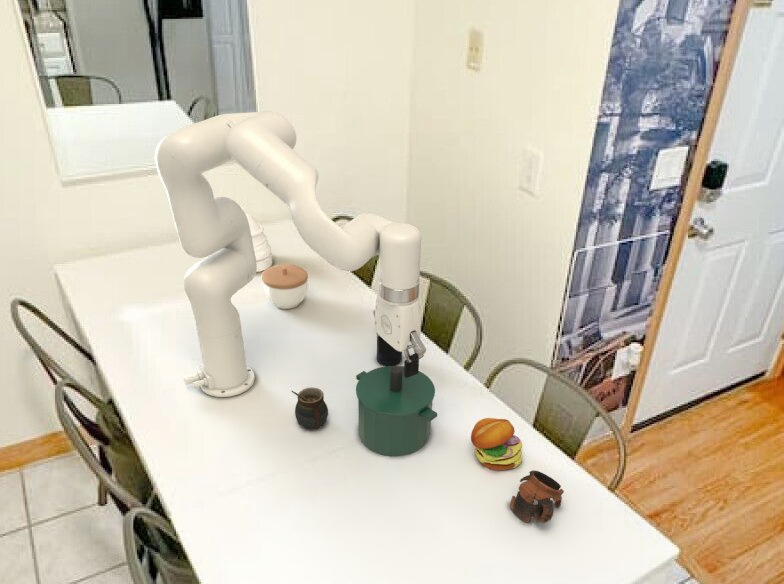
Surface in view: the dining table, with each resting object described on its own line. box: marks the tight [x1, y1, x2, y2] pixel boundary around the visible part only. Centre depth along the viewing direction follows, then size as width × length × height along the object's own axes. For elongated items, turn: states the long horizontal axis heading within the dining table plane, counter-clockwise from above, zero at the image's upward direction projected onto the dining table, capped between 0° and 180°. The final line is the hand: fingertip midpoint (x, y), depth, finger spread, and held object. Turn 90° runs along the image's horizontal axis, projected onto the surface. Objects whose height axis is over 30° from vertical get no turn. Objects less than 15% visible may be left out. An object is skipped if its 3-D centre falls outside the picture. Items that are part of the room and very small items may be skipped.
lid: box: [355, 365, 436, 416], centre depth 133 cm, size 17×17×6 cm
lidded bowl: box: [261, 264, 309, 310], centre depth 181 cm, size 13×13×11 cm
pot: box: [355, 370, 438, 457], centre depth 138 cm, size 16×21×12 cm
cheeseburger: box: [470, 417, 523, 471], centre depth 135 cm, size 10×11×10 cm
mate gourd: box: [291, 387, 329, 430], centre depth 139 cm, size 7×8×10 cm
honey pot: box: [240, 206, 273, 273], centre depth 198 cm, size 13×13×18 cm
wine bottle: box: [376, 335, 403, 367], centre depth 155 cm, size 6×6×30 cm
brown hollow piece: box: [509, 469, 565, 524], centre depth 123 cm, size 12×10×8 cm
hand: (397, 363), depth 131 cm, fingers open, 9 cm apart
